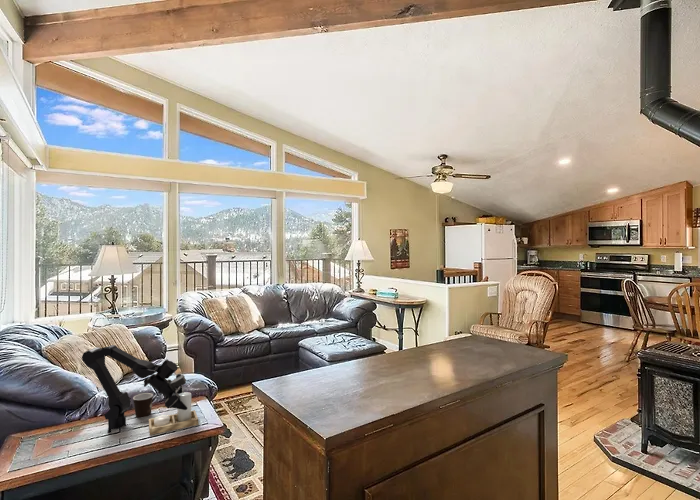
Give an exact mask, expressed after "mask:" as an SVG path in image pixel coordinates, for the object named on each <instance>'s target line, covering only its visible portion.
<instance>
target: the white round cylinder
mask: <svg viewBox="0 0 700 500" xmlns="http://www.w3.org/2000/svg"><path fill="white" fill-rule="evenodd" d="M154 418H155V419H154V427H159V426H164V425H169V424H170V416H168V415H167V414H166V415H165V414H164V415H159V416H156V417H154Z"/></svg>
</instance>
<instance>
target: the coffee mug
mask: <svg viewBox="0 0 700 500" xmlns="http://www.w3.org/2000/svg"><path fill="white" fill-rule="evenodd" d="M132 399H133V401H132V402H133V407H134V414H135V417H136V418H139V419H140V418H145V417H148V416H150V415H151V414H152V408H153V399H154V395H153V393H150V392H146V393H139V394H136V395H134V396H133V397H132Z"/></svg>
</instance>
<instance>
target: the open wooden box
mask: <svg viewBox="0 0 700 500" xmlns="http://www.w3.org/2000/svg"><path fill="white" fill-rule="evenodd" d="M168 416H170V424H169V425H164V426H159V427H154V419H155V418H156V417H154V418H153V417H152V418H149V419H148V430H149V433H148V434H149V435H150V436H151V435H156V434H160V433H167V432H170V431H175V430H179V429H183V428H184V429H185V428H189V427H193V426H198V425H199V417H198V415H197V412H196V410H191V420H188V421H183V422H178V420H177V413H173V414H169V415H168Z"/></svg>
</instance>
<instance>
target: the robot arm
mask: <svg viewBox="0 0 700 500" xmlns="http://www.w3.org/2000/svg"><path fill="white" fill-rule="evenodd" d="M106 357H110V358H111V359H112V360H115V361H117V362H119V363H120V364H123V365H124V366H126V367H128V368H129V369H131V371H132V372H133V374H135V376H137V377H138V378H140V379H144V380H143V387H147V386H148V385H149V386H151V387H152V388H154V389H155V390H156V391H157V394H159V395H160V394H161V395H162V396H164V399H165V402H164V406H165V408H167V409H176V410H177V409H182V410H187V407H186V405H185V404H184V403H183V402H182V401H181V400H180V396H179V394H180V393H184V392H185V391H183V387H184V385H185V384H186V383H187V379H186V377H185V375H184V374H181V373H177V374H176V376H175V378H174V379H173V380H171V379H169V378H170V377H171V376H172V375H173V374H174V373H176V372H177V371H178V365H177V364H176V362H173V361H172V360H169V359H166V360H164V361H163V362H162V363H161V365H160V364H156V363H154V362H151V361H149V360H145V359H140V358H137V357H135V356H134V355H131V354H130V353H129V352H127V351H125V350H123V349H121V348H119V347H118V346H117V345H114V344H112V345H107V346H105V347H104V346H103V347H102V348H101V347H93V348H91V349H89V350H86V351H84V352H83V353H82V355H81V360H82V362H83V363H84V364H85V366H86V367H87V368H89V369H91V370H92V371H93V372H94V374H95V376H96V377H97V379H98V381H99V384H100V385H101V387H102V388H103V390H104V392H105V395H106V396H107V399H108V401H107V402H108V408H109V410H108V411H107V412H106V413H105V414H104V418H105V420H107V434H110V433H112V430H117V429H120V428H123V427H126V426H127V416H126V415H125V413H126V412H127V411H128V410H129V408H130V407H131V404H132V401H131V399H132V398H131V397H130V396H129V394H128V392H127V391H125V392H122V391H121V390H120V388H119V387H118V385H117V384H116V382H115V379H114V378H113V376H112V374H111V372H110V371H109V369H108V367H107V365H106Z"/></svg>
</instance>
